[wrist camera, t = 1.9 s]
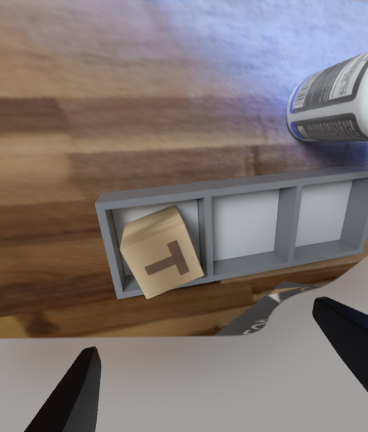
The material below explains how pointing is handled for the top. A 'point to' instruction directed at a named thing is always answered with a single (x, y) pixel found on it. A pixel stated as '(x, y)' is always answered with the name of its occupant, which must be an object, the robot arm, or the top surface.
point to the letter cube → (160, 252)
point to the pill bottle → (332, 103)
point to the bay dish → (248, 221)
